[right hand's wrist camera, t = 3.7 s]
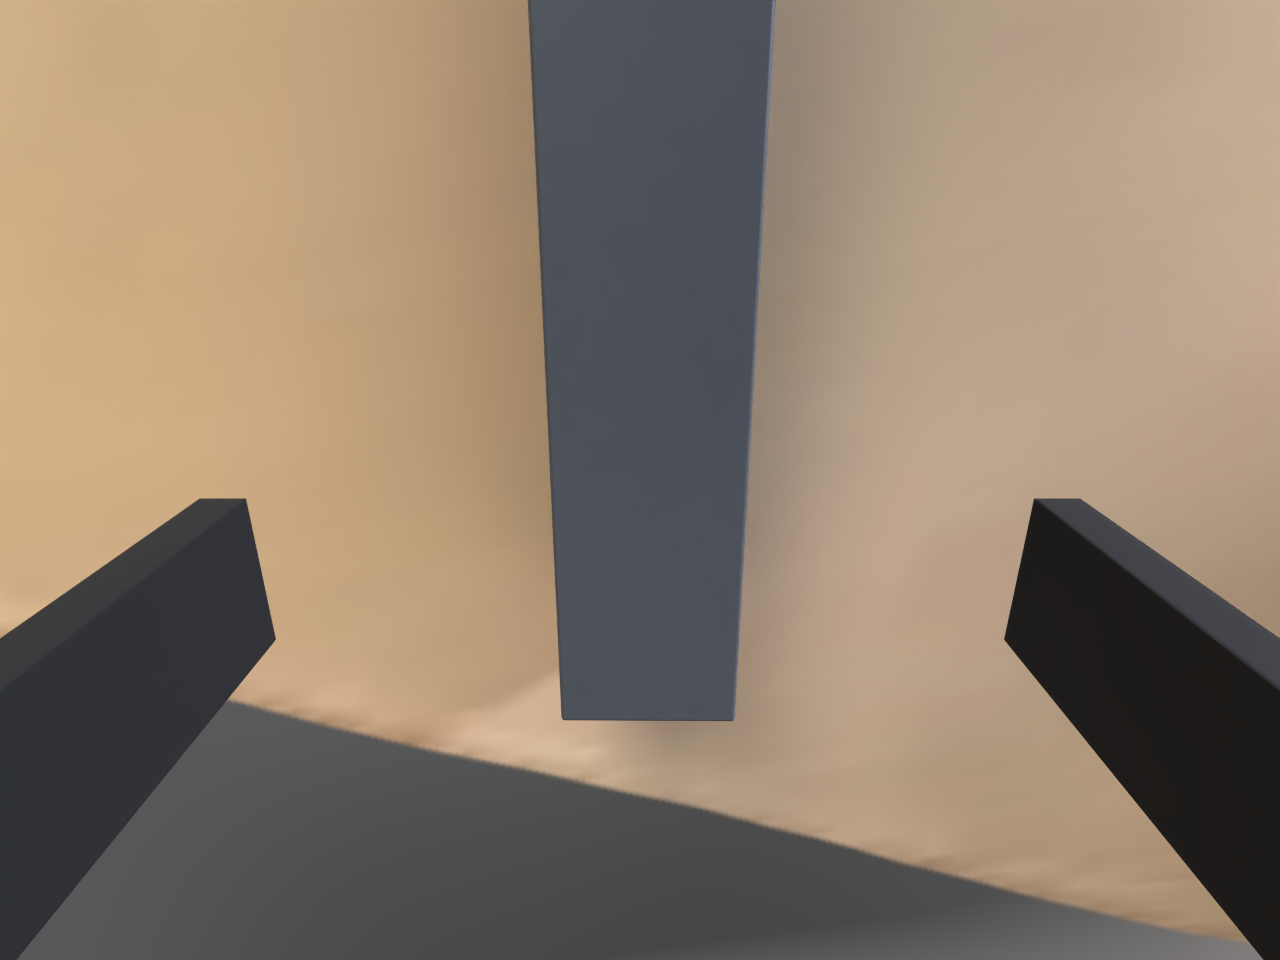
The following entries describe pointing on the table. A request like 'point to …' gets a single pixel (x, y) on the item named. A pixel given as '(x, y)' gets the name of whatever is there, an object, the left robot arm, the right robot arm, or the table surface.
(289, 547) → the table surface
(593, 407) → the post
